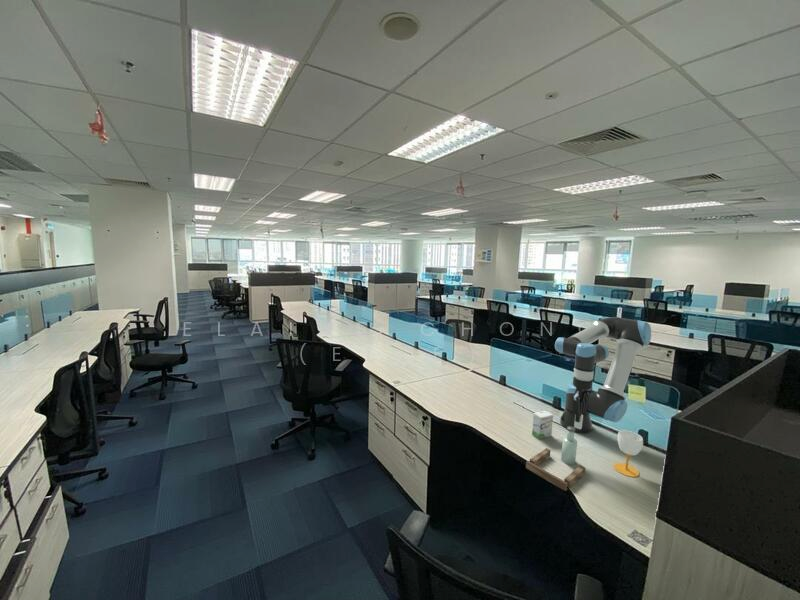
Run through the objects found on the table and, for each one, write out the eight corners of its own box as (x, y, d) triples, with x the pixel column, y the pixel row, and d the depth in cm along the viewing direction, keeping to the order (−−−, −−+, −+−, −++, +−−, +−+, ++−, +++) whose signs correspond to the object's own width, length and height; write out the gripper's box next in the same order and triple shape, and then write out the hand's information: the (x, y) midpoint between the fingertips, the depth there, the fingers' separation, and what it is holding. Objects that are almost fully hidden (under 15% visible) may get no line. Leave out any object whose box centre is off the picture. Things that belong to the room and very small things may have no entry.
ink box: (538, 439, 160) (540, 417, 159) (531, 434, 165) (533, 412, 163) (551, 436, 163) (553, 414, 162) (544, 431, 168) (546, 410, 166)
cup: (640, 469, 139) (645, 435, 136) (637, 480, 132) (642, 444, 130) (615, 460, 145) (619, 427, 142) (611, 470, 138) (616, 435, 136)
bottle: (564, 455, 148) (567, 423, 146) (577, 461, 143) (580, 429, 141) (558, 459, 145) (561, 427, 142) (571, 466, 140) (574, 433, 138)
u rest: (545, 454, 149) (546, 448, 148) (584, 474, 135) (585, 467, 135) (525, 468, 139) (526, 461, 138) (565, 491, 125) (566, 484, 125)
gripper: (580, 372, 150) (575, 420, 153) (567, 378, 142) (562, 428, 145) (598, 377, 144) (592, 426, 147) (585, 384, 136) (579, 436, 139)
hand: (577, 427), depth 146 cm, fingers closed
